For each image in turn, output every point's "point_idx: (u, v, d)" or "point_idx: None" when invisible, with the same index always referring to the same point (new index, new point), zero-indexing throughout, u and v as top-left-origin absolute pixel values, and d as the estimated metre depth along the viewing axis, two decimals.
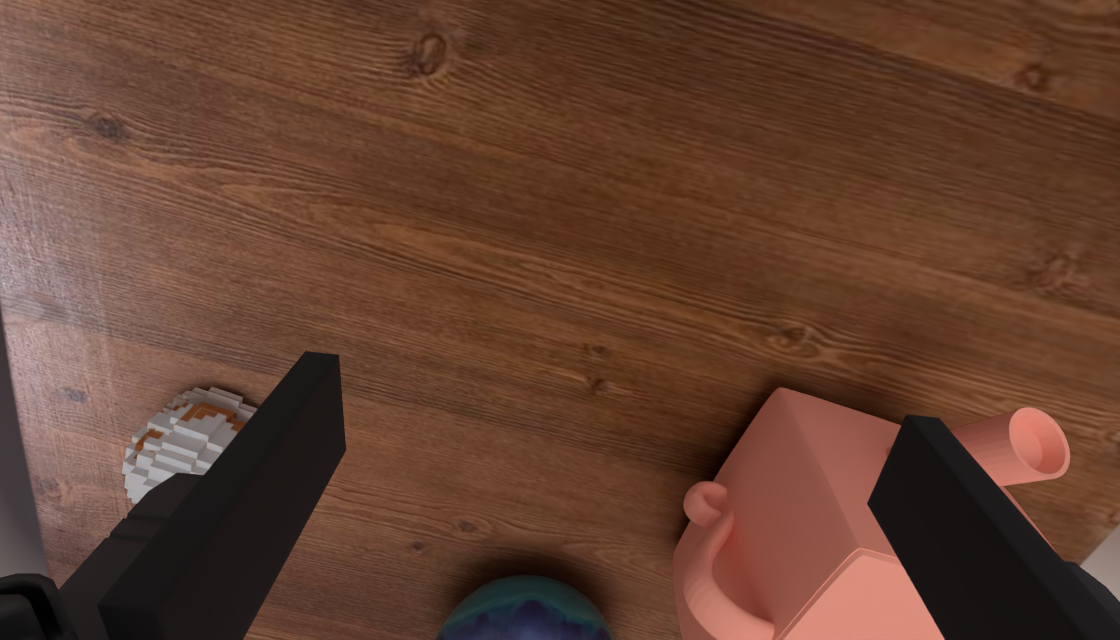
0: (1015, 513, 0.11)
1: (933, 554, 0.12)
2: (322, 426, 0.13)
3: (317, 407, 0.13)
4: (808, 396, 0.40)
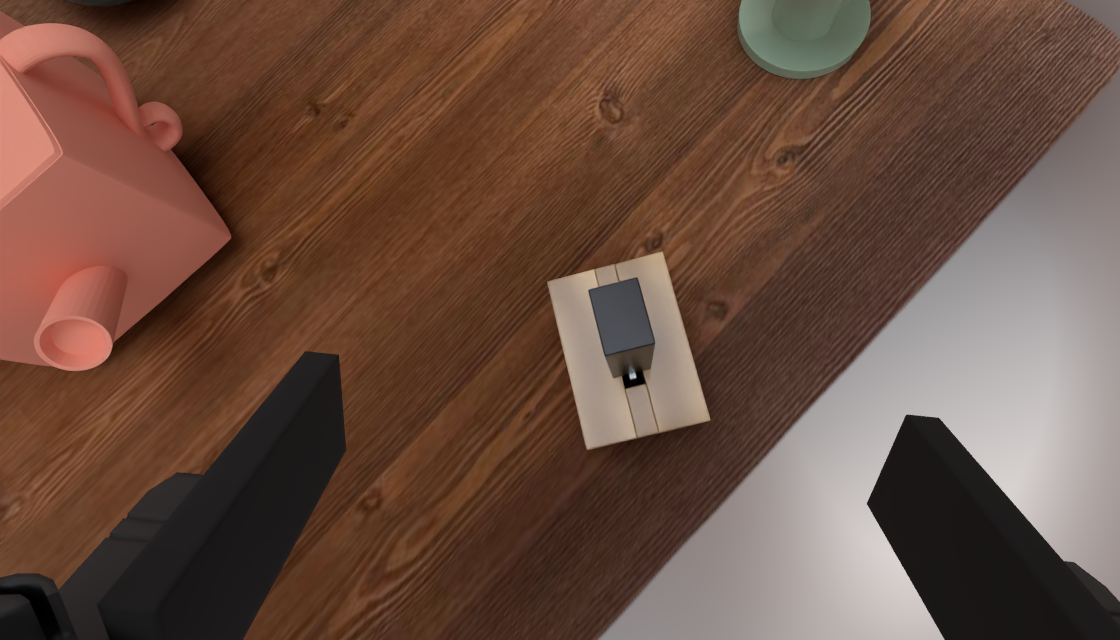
0: (1015, 513, 0.11)
1: (933, 554, 0.12)
2: (322, 426, 0.13)
3: (317, 407, 0.13)
4: (209, 255, 0.44)
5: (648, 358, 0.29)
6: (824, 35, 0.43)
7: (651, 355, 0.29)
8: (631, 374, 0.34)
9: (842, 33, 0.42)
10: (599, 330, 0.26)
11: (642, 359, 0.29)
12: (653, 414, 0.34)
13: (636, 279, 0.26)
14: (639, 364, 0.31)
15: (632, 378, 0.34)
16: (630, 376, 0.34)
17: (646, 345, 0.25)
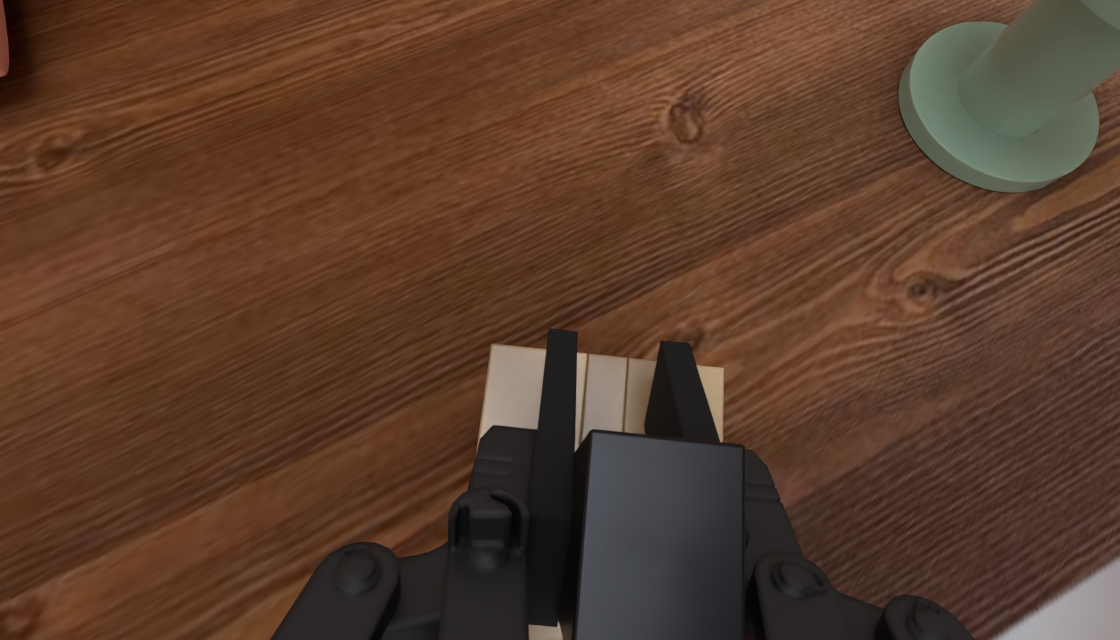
0: (703, 409, 0.13)
1: None
2: None
3: None
4: None
5: None
6: (1027, 136, 0.28)
7: None
8: None
9: (1053, 144, 0.28)
10: (582, 573, 0.08)
11: None
12: None
13: (741, 452, 0.08)
14: None
15: None
16: None
17: None
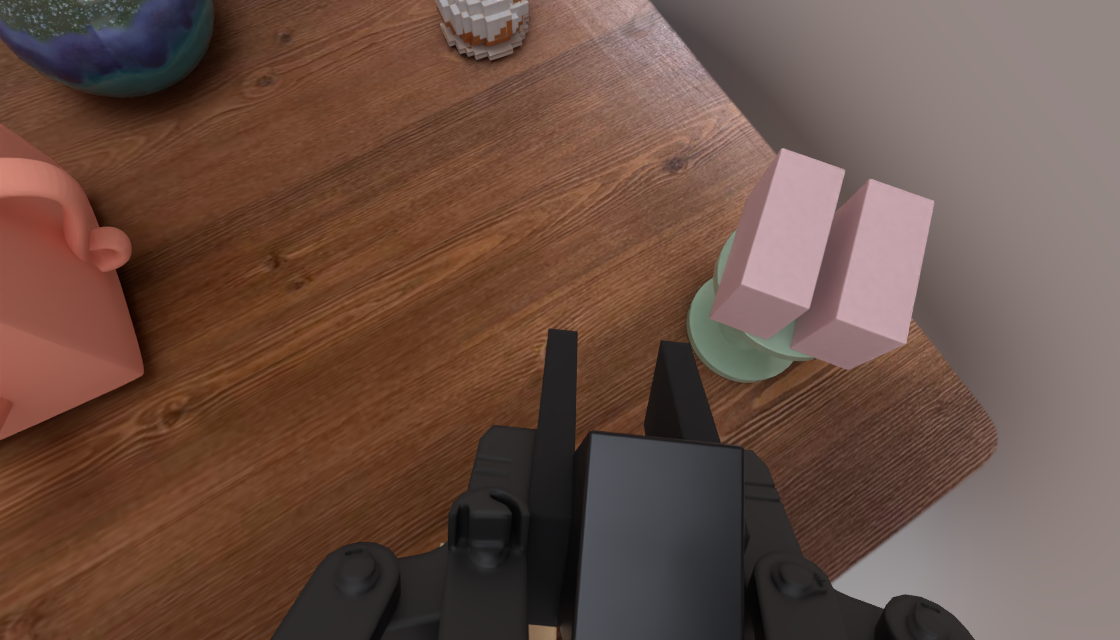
0: (704, 409, 0.13)
1: None
2: None
3: None
4: (113, 388, 0.42)
5: None
6: (758, 349, 0.47)
7: None
8: None
9: None
10: (581, 575, 0.08)
11: None
12: None
13: (740, 453, 0.08)
14: None
15: None
16: None
17: None
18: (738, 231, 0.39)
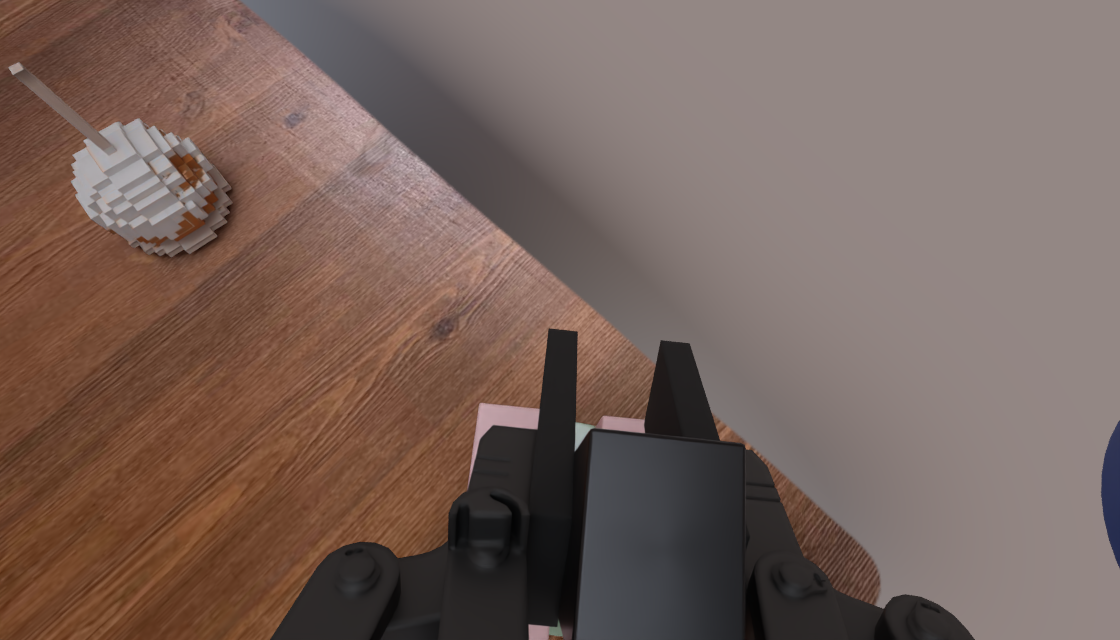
0: (703, 409, 0.13)
1: None
2: None
3: None
4: None
5: None
6: None
7: None
8: None
9: None
10: (582, 572, 0.08)
11: None
12: None
13: (741, 451, 0.08)
14: None
15: None
16: None
17: None
18: None
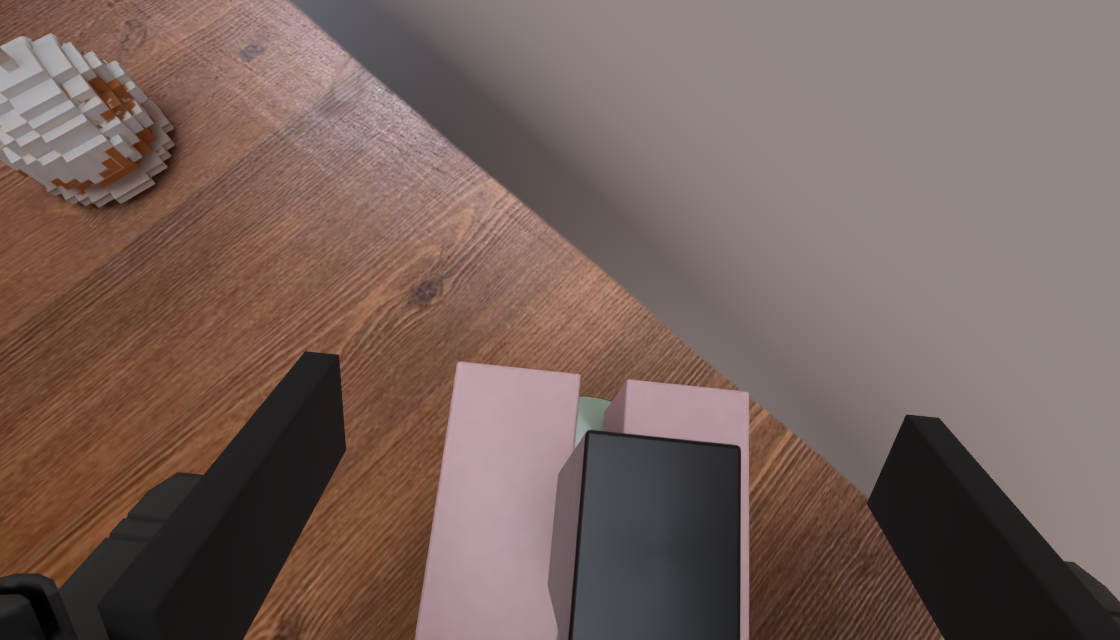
0: (1015, 513, 0.11)
1: (933, 554, 0.12)
2: (322, 426, 0.13)
3: (317, 407, 0.13)
4: None
5: None
6: None
7: None
8: None
9: None
10: (578, 573, 0.08)
11: None
12: None
13: (737, 453, 0.08)
14: None
15: None
16: None
17: None
18: None
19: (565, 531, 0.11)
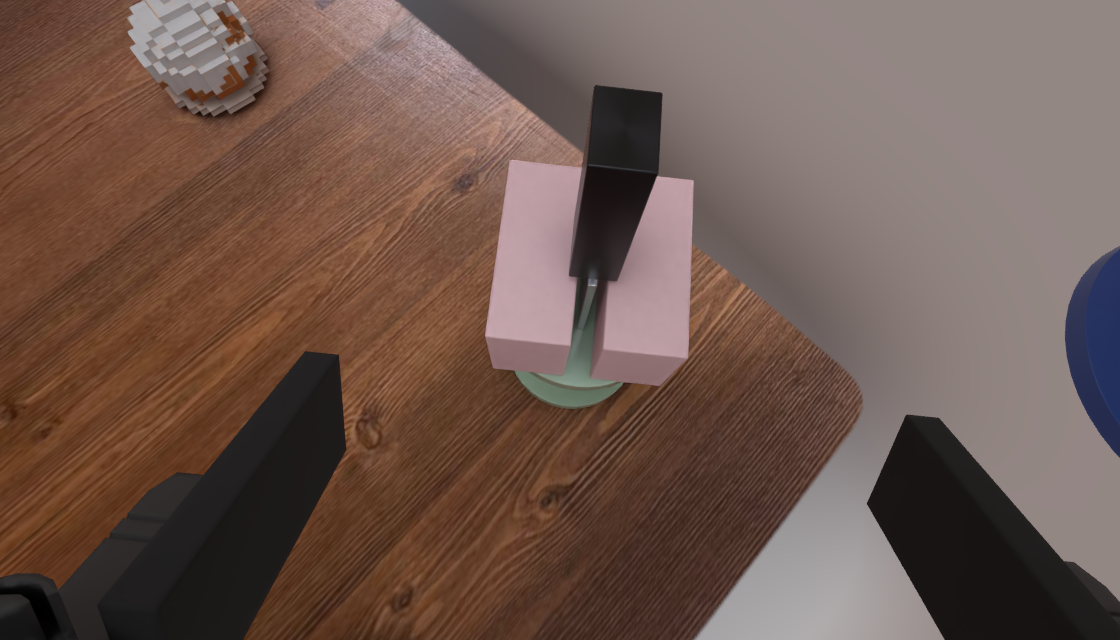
0: (1015, 513, 0.11)
1: (933, 554, 0.12)
2: (322, 426, 0.13)
3: (317, 407, 0.13)
4: None
5: (628, 234, 0.22)
6: None
7: (636, 224, 0.22)
8: (591, 279, 0.27)
9: None
10: (591, 134, 0.19)
11: (621, 230, 0.22)
12: None
13: (660, 94, 0.19)
14: (611, 248, 0.24)
15: (591, 285, 0.27)
16: (589, 282, 0.27)
17: (645, 172, 0.18)
18: None
19: None
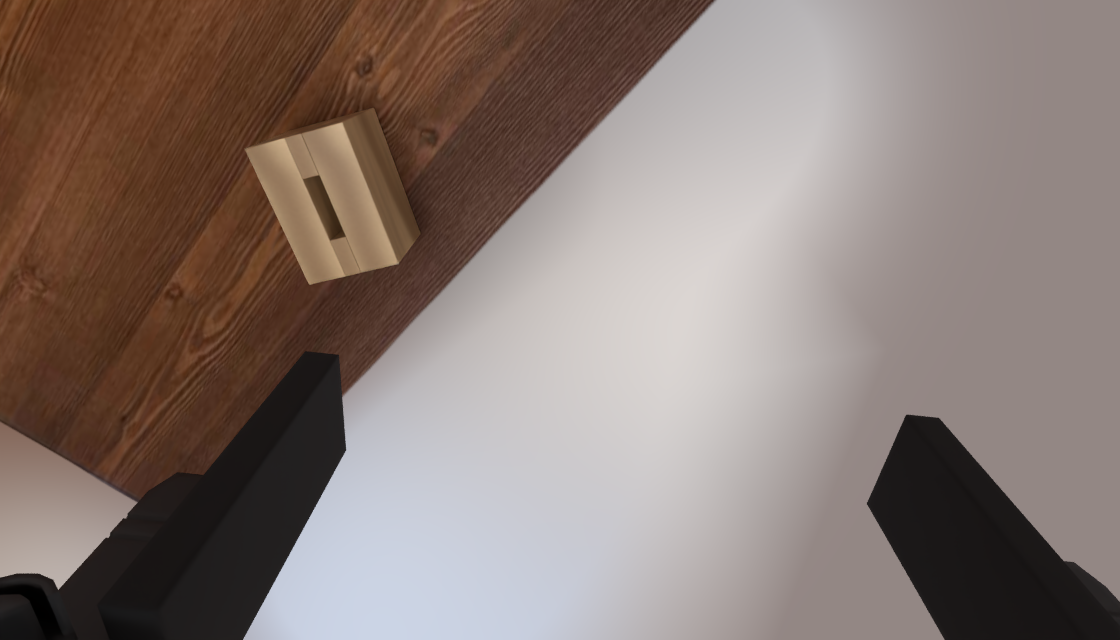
0: (1015, 513, 0.11)
1: (933, 554, 0.12)
2: (322, 426, 0.13)
3: (318, 407, 0.13)
4: None
5: None
6: None
7: None
8: None
9: None
10: None
11: None
12: (355, 259, 0.43)
13: None
14: None
15: None
16: None
17: None
18: None
19: None
